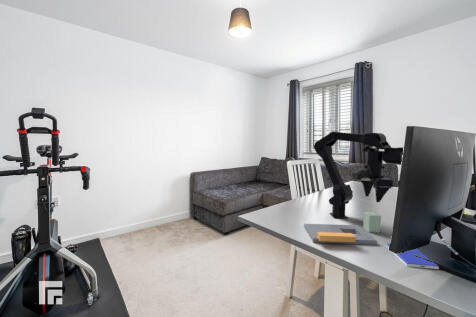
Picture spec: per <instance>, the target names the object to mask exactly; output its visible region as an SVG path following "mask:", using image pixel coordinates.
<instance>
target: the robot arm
mask: <svg viewBox="0 0 476 317" xmlns="http://www.w3.org/2000/svg"><path fill="white" fill-rule="evenodd" d="M337 141H344V142H345V141H347V142H352V143H353V142H354V143H359V144H362V145H364V146H365V148H363V149H362V150H361V152H363V153H364V152H366V153H367V154H366V163H365V164H364V165H363V167H362V168H359V169H356V170H352V171H350V172H351V176H352V179H353V180H355V181H358V182H360V183H361V184H362V187H363V192H364V195H365V197H369V196H370V193H371V191H372V188H374V189H375V190H374V191H375V201H376V203H380V202H381V201H382V200H383V198H384V197H385V195H386V194H387V192H388V191H389V190H390V189H392V188H394V186H395V182H394V180H393V179H391V178H386V177H385V175H383V169H385V168H386V167H385V165H383V163H385V164H387V165H396V166H402V165H401V162H402V155H403V148H404V147H392V146H391V144H390V143H389V142H388V141H387V136H386V135H385V134H384V133H381V132H380V133H378V132H368V133H367V132H365V133H351V132H340V131H335V130H334V131H331V132H329V133H328V134H326V135H325V136H323V137H322V138H320V139H319V140H316V141H315V142H314V145H313V149H314V150H315V153H316V154H317V156H319V157H320V159H322V161H323V162H322V163H323V164H324V166H325V168H326V171H327V174H328V176H329V179H330V181H331V184H332V194H333V196H331V198H329V199H328V202H329V205H332V210H331V212H329V214H330V215H331V217H332V218H334V219H349V216H347V215H346V205H347V204H349V203H350V201H352V200H353V197H354V195H353V193H354V191H353V190H352V188H351V187H352V186H351V184H346V183H345V182H344V181H343V178H342V176H341V174H340V171H339V169H338V166H337V164H336V161H335V160H334V157H333V146H334V145H335V144H336V143H337Z"/></svg>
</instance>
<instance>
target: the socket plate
mask: <svg viewBox="0 0 476 317" xmlns="http://www.w3.org/2000/svg"><path fill="white" fill-rule="evenodd" d="M303 228H304V230H305V231H306V233H307V234H308V236H309V238H310V239H311V241H312V243H321V244H322V243H324V244H346V245H348V244H351V245H353V244H354V245H373V246H374V245H375V246H376V245H377V244H378V240H377V239H376V238H374V236H372V235H371V234H370V233H369V232H368V231H366V230H365V229H364V228H363V227H360V225H357V224H327V223H322V224H321V223H304V224H303ZM317 232H333V233H355V234H353V235H354V236H355V242H330V241H319V240H318V238H317Z"/></svg>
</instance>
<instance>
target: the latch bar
mask: <svg viewBox="0 0 476 317" xmlns="http://www.w3.org/2000/svg"><path fill="white" fill-rule="evenodd" d="M354 235H355V234H354V233H353V232H344V233H333V232H317V238H318V240H319V241H330V242H355V236H354Z"/></svg>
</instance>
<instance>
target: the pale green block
mask: <svg viewBox="0 0 476 317" xmlns="http://www.w3.org/2000/svg"><path fill="white" fill-rule="evenodd" d="M381 218H382V215H381V214H379V213H378V212H375V211H363V224H362V229H363V230H364V231H366V232H367V233H376V232H380V233H381V223H382V222H381V221H382V219H381Z"/></svg>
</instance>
